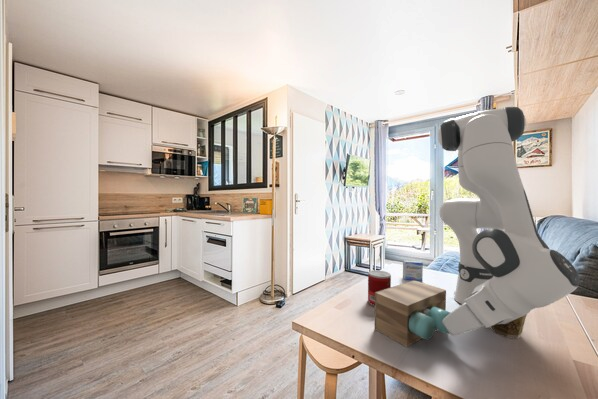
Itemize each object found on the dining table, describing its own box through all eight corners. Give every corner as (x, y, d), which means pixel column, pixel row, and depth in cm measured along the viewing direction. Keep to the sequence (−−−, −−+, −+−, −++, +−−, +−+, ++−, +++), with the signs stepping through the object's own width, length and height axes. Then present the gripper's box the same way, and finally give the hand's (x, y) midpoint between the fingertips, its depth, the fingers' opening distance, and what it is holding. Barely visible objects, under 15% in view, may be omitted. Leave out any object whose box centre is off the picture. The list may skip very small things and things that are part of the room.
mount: (413, 311, 86) (413, 280, 86) (460, 331, 74) (461, 294, 74) (374, 328, 75) (375, 292, 75) (422, 355, 63) (423, 312, 63)
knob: (407, 310, 80) (407, 293, 80) (452, 330, 69) (453, 310, 69) (396, 315, 77) (396, 297, 77) (442, 336, 66) (442, 315, 66)
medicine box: (404, 280, 118) (405, 262, 118) (402, 277, 123) (402, 259, 123) (422, 281, 117) (423, 262, 117) (419, 278, 122) (420, 260, 121)
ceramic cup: (533, 335, 72) (534, 301, 72) (521, 346, 67) (522, 309, 67) (481, 316, 83) (482, 286, 83) (467, 325, 78) (468, 293, 78)
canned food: (391, 308, 89) (392, 277, 89) (368, 306, 91) (369, 275, 90) (388, 299, 96) (389, 271, 96) (367, 297, 98) (367, 269, 98)
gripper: (501, 280, 66) (460, 304, 74) (465, 298, 55) (421, 323, 63) (523, 304, 62) (477, 325, 71) (489, 328, 51) (439, 350, 59)
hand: (450, 324), depth 67 cm, fingers closed, pressing on knob
